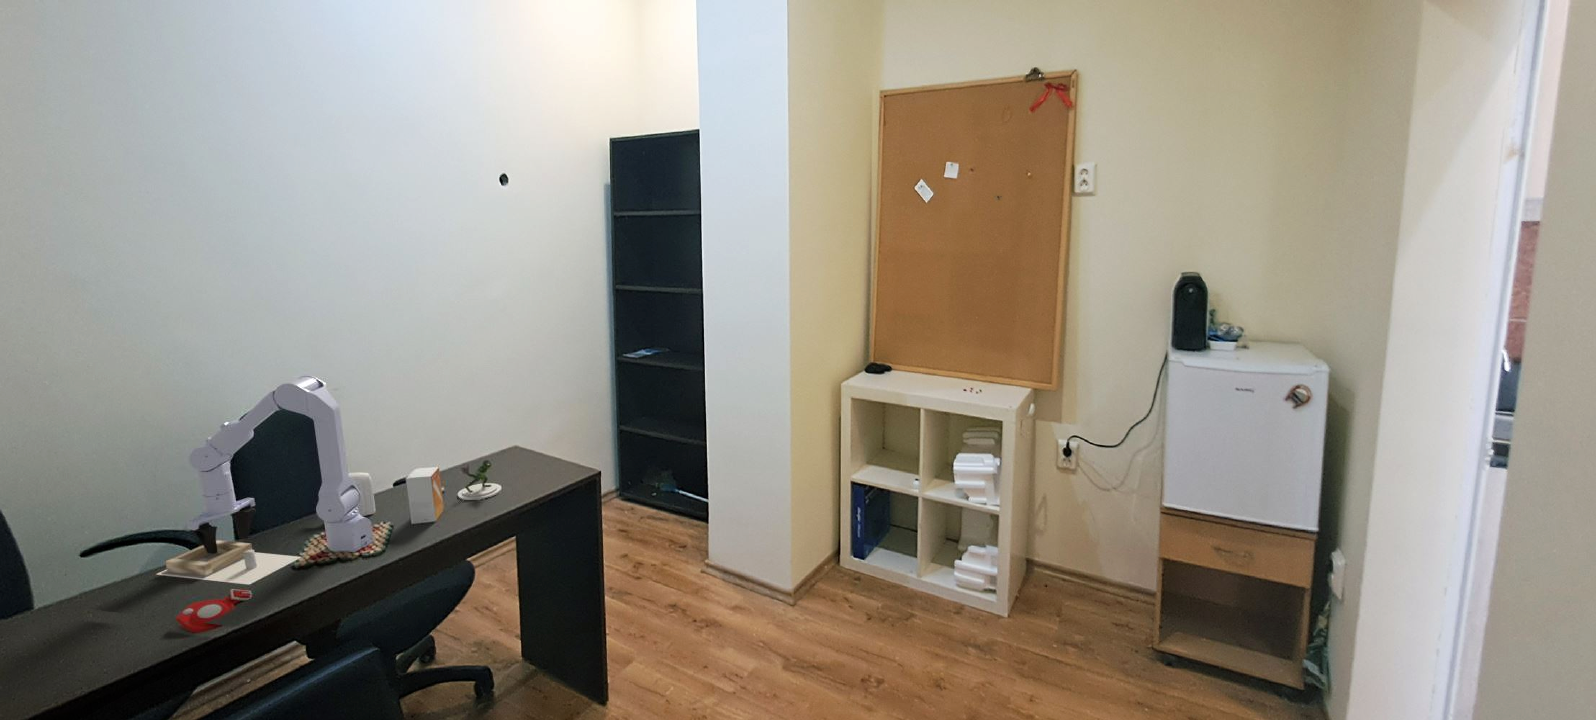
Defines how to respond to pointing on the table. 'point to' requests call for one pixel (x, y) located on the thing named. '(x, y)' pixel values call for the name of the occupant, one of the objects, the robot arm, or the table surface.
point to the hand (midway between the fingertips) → (228, 545)
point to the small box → (425, 495)
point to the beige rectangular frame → (192, 566)
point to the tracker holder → (210, 611)
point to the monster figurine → (479, 489)
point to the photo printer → (364, 493)
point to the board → (242, 568)
